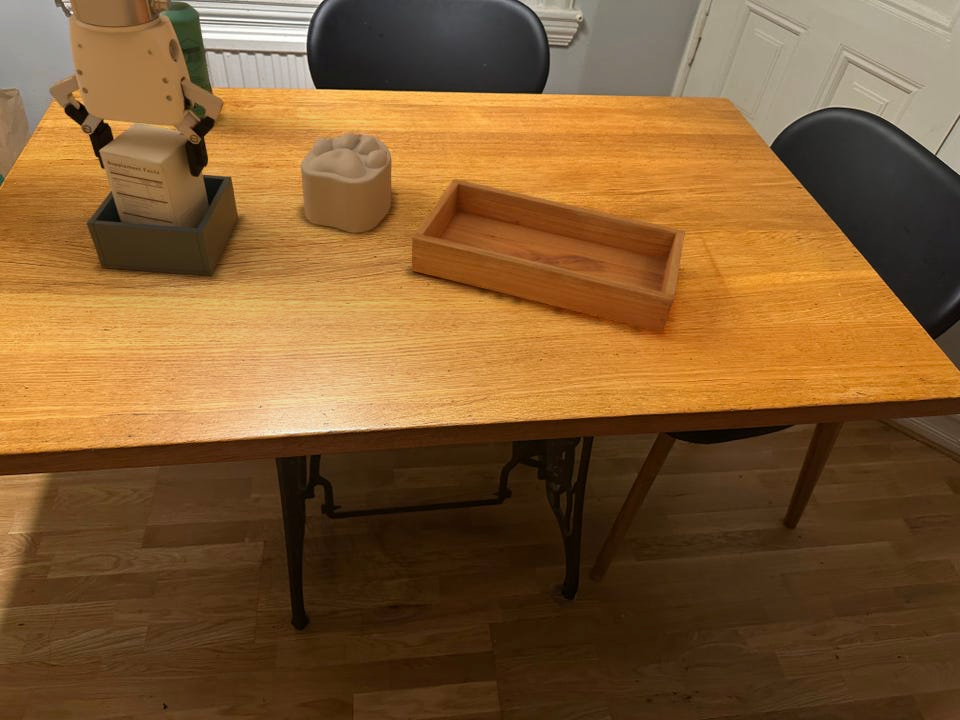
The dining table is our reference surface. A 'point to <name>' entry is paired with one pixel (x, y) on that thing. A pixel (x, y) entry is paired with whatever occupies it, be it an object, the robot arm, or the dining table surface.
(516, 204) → the tray
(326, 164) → the lumpy-topped squat cylinder
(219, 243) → the dark grey storage bin
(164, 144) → the white packaging box
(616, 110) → the dining table surface
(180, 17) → the beverage bottle
